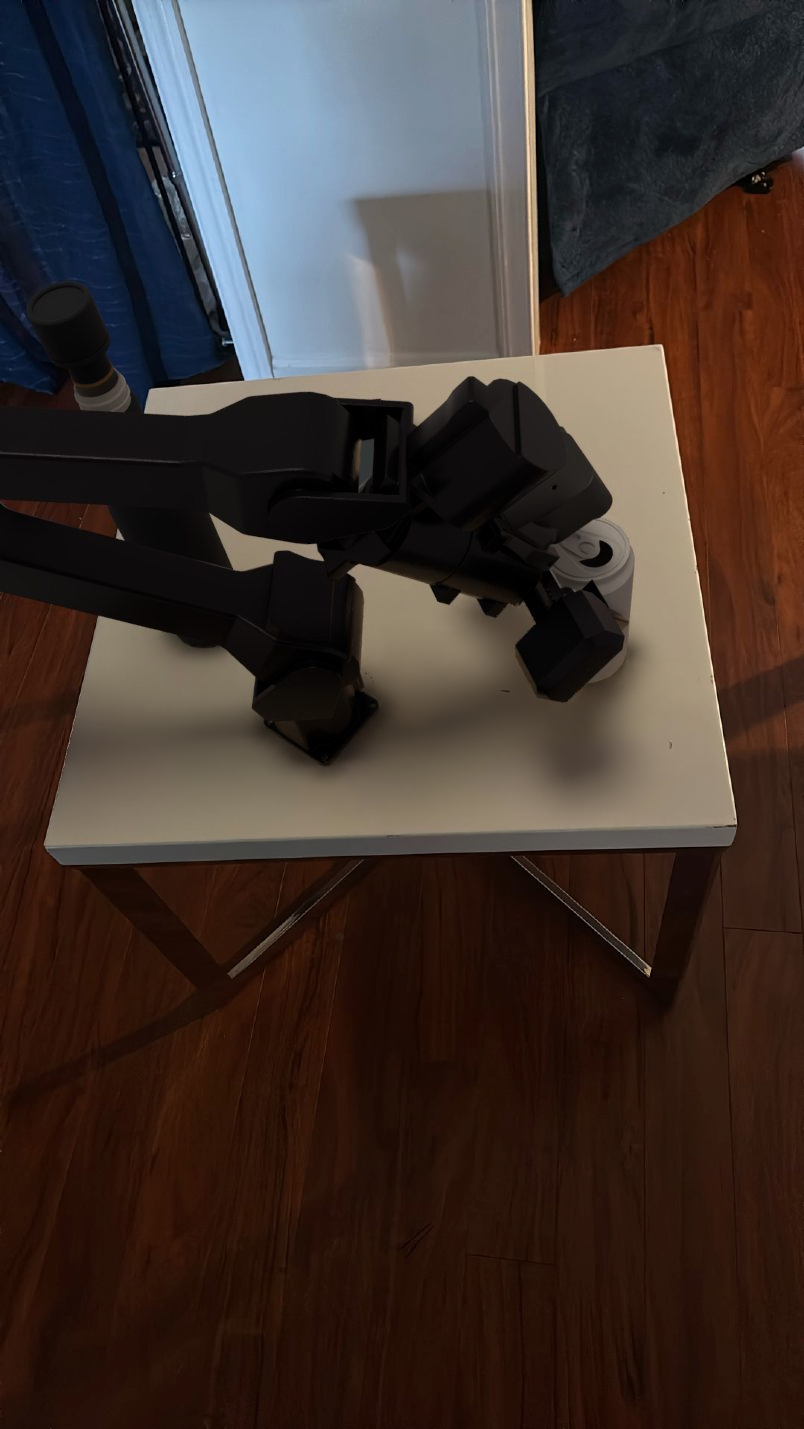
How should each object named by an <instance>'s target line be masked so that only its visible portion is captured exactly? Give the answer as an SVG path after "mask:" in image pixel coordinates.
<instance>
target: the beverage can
mask: <svg viewBox="0 0 804 1429" xmlns="http://www.w3.org/2000/svg"><path fill="white" fill-rule="evenodd" d="M550 546H552V547H554V548H555V549H556V551H557V553H558V554H559V556H560V558H559V559H558V560H557V561H556V563H555V564H554V565H553V566H552V567H551V569H552V571H553V572H554V574H555V576H556V578H557V579H558V581H559V583H560V584H561V586H562V588H563V587H571V588H574V589H575V590H576V591H578V590H582V589H583V588H584V587H585V586H586V585H587V584H588V583H589V582H590V581H591V580H593V581H594V582H595V584H596V586H597V587H598V589H599V591H600V592H601V594H602V596H603V597H604V599H605V601H606V602H607V604H608V606H609V607H610V609H612V610H614V611H616V612H618V613H619V614H621V615H622V616H624V617H625V618H627V620H628V621H629V622H631V621H630V619H631V608H632V600H633V599H632V597H633V589H634V588H633V587H634V586H633V585H634V575H635V566H636V565H635V564H636V557H635V556H636V555H635V553H634V549H633V547H632V546H631V543H630V540H629V537H628V535H627V534H626V532H625V530H624V529H623V528H622V527H621V526H620V525H619V524H617V523H615V522H614V521H612V520H610V519H607V518H604V517H603V516H602V517H600V518H599V519H594V520H592V521H591V522H590V523H588V524H587V525H585V526H584V527H582V528H581V529H579V530H578V531H577V532H575V533H574V534H572V535H571V536H569V537H568V538H566V539H565V540H564V541H562V542H560V543H558V544H551V545H550ZM629 630H630V623H629V624H628V625H627V626H626V627H625V628H624V629H623V630H622V632H623V634H624V636H625V638H624V644H623V650H621V651H620V652H619V653H618V654H617V655H616V656H615V657H614V658H613V659H612V660H611V661H610V662H609V663H608V664H607V665H606V666H605V667H604V668H603V669H601V670H600V671H599V672H598V673H597V674H596V675H595V676H594V677H593V678H592V679H591V680H590V681H589V682H588V683H587V684H594V683H597V682H600V681H603V680H605V679H607V678H609V677H611V676H613V675H614V674H615V673H616V672H617V671H618V670H619V669H620V668H621V667H622V665H623V664H624V662H625V659H626V657H627V652H628V644H629V643H628V642H629Z"/></svg>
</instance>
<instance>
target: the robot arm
mask: <svg viewBox="0 0 804 1429" xmlns="http://www.w3.org/2000/svg"><path fill="white" fill-rule="evenodd" d="M414 419H415V405H414V404H413V403H412V402H410V401H406V400H390V399H389V400H388V399H382V398H370V399H369V398H354V397H353V398H352V397H351V398H349V397H334V396H331V395H329V394H326V393H322V392H316V391H294V392H282V393H271V394H258V395H250V396H246V397H244V398H241V399H240V400H237V401H235V402H233V403H231V404H229V405H227V406H225V407H222V408H220V409H217V410H216V411H213V412H210V413H205V414H204V413H203V414H192V415H191V414H190V415H184V414H183V415H182V414H167V413H166V414H163V413H148V412H147V413H145V412H144V413H128V412H110V411H91V410H81V409H71V408H53V407H52V408H51V407H33V406H15V405H0V593H3V594H8V595H11V596H16V597H20V598H23V599H28V600H32V601H37V602H40V603H43V604H44V603H45V604H48V605H53V606H56V607H60V608H65V609H69V610H73V611H77V612H81V613H86V614H88V615H93V616H97V617H102V618H105V619H110V620H114V621H117V622H122V623H126V624H130V625H135V626H138V627H142V628H145V629H149V630H150V629H151V630H155V631H158V632H163V633H167V634H171V635H175V636H177V635H179V636H183V637H187V638H191V639H195V640H199V641H203V642H207V643H211V644H215V645H217V646H218V647H221V648H223V649H224V650H225V651H226V652H228V654H230V655H231V657H232V658H234V659H235V660H236V661H237V662H238V663H239V664H241V665H242V667H244V668H245V669H246V670H247V671H248V672H249V673H250V674H251V675H252V676H253V677H254V684H253V693H252V701H251V709H252V711H254V712H255V713H256V714H257V715H259V717H261V718H262V719H263V725H264V726H265V728H266V729H267V730H269V731H270V732H271V733H273V735H276V736H277V737H279V738H280V739H281V740H283V741H284V742H286V743H288V744H289V745H291V746H292V747H294V748H295V749H296V750H297V751H299V752H301V753H302V754H304V755H305V756H307V757H309V759H311V760H312V761H314V762H316V763H317V764H319V765H320V766H322V767H324V766H325V767H326V766H329V765H330V764H331V763H332V762H333V761H334V760H335V759H336V758H337V756H338V755H339V754H340V753H341V752H342V751H343V750H344V749H345V748H346V747H347V745H348V744H349V743H350V742H351V741H352V740H353V739H354V737H355V736H356V735H357V734H358V733H359V732H361V730H362V729H363V728H364V726H366V724H367V723H368V722H369V721H370V720H371V719H372V718H373V716H374V715H375V714H376V713H377V712H378V711H379V709H380V703H379V701H378V700H377V699H376V698H374V697H373V696H372V695H370V694H368V693H367V692H365V691H363V689H364V688H365V682H364V679H363V676H362V672H361V665H362V648H363V647H362V646H363V633H364V632H363V630H364V613H365V597H364V591H363V589H362V588H361V587H360V585H359V584H358V583H357V578H356V577H354V576H353V575H351V574H350V573H349V572H350V571H351V570H353V569H354V568H355V567H356V566H358V565H361V566H365V567H368V568H371V569H375V570H379V571H382V572H386V573H389V574H393V575H395V576H396V575H397V576H399V577H403V578H406V579H410V580H412V581H413V580H414V581H417V582H419V583H424V584H427V585H428V586H429V587H430V590H431V592H432V593H433V596H434V598H435V601H436V602H437V603H440V604H444V605H447V606H451V604H452V603H453V602H454V601H455V600H456V599H457V597H458V596H459V595H463V596H468V597H471V598H474V599H476V601H477V603H478V605H479V607H480V608H481V611H482V612H483V614H484V616H487V617H490V618H494V619H497V617H498V616H499V615H500V614H501V613H502V612H503V611H504V610H505V609H506V608H507V607H508V606H509V605H512V606H513V607H516V608H519V607H521V605H522V604H523V603H524V605H525V607H526V608H527V610H528V612H529V614H530V616H531V617H532V619H533V621H534V624H533V625H532V626H531V628H529V629H528V630H527V631H526V633H525V634H524V635H523V636H522V637H521V638H520V639H519V640H518V641H517V642H516V643H515V644H514V654H515V659H516V661H517V663H518V665H519V667H520V668H521V670H522V672H523V674H524V676H525V678H526V680H527V682H528V685H530V688H531V690H532V691H533V694H534V695H535V697H536V698H537V699H540V700H541V699H542V700H546V701H551V702H555V703H562V704H567V703H568V702H569V701H570V700H571V699H572V698H573V697H574V696H576V695H577V693H578V692H580V691H581V690H582V689H583V688H584V687H585V686H586V685H587V684H589V683H588V682H589V681H590V680H591V679H592V678H593V677H594V676H595V675H596V674H597V673H598V672H599V671H600V670H601V669H603V668H604V667H605V666H606V665H607V664H608V663H609V662H610V661H611V660H612V659H613V658H614V657H615V656H616V655H617V654H618V653H619V652H620V651H621V650H623V644H624V638H625V636H624V634H623V632H622V630H623V629H624V628H625V627H626V626H627V625H628V624H629V625H630V621H628V620H627V618H625V617H624V616H622V615H621V614H619V613H618V612H616V611H614V610H612V609H610V607H609V606H608V604H607V602H606V601H605V599H604V597H603V596H602V594H601V592H600V591H599V589H598V587H597V586H596V584H595V582H594V581H593V580H591V581H590V582H589V583H588V584H587V585H586V586H585V587H584V588H583V589H582V590H578V591H576V590H575V589H574V588H571V587H563V588H562V586H561V584H560V583H559V581H558V579H557V578H556V576H555V574H554V572H553V571H552V569H551V567H552V566H553V565H554V564H555V563H556V561H557V560H558V559H559V558H560V556H559V554H558V553H557V551H556V549H555V548H554V547H552V546H550V545H551V544H558V543H560V542H562V541H564V540H565V539H566V538H568V537H569V536H571V535H572V534H574V533H575V532H577V531H578V530H579V529H581V528H582V527H584V526H585V525H587V524H588V523H590V522H591V521H592V520H594V519H599V518H600V517H602V518H603V516H605V515H606V514H608V512H609V511H610V510H611V508H612V505H613V502H614V500H613V496H612V493H611V491H610V490H609V489H608V487H607V486H606V484H605V483H604V482H603V480H602V478H601V477H600V475H599V473H598V472H597V471H596V469H595V468H594V466H593V464H592V463H591V462H590V460H589V459H588V458H587V456H586V454H585V453H584V452H583V450H582V449H581V447H580V446H579V444H578V443H577V441H576V440H575V438H574V437H573V436H572V434H570V433H569V432H567V430H566V428H565V427H564V426H561V425H560V424H559V422H558V420H557V419H556V417H555V415H554V413H553V412H552V411H551V409H550V408H549V407H548V405H547V404H546V402H544V400H543V399H542V398H541V397H540V396H539V395H538V394H537V393H536V392H535V391H534V390H532V388H530V386H528V385H527V384H525V383H523V382H522V381H520V380H518V381H517V382H515V381H513V380H511V379H508V378H496V379H493V380H492V381H490V382H489V383H488V384H485V383H484V382H483V381H481V380H480V379H478V378H477V377H476V376H474V375H469V376H467V377H466V378H464V379H463V380H462V381H460V383H459V384H458V385H456V386H455V387H454V388H453V390H452V391H451V392H450V394H449V395H448V396H447V399H446V400H444V402H443V403H442V404H441V405H439V406H438V407H437V408H436V409H435V410H434V411H433V412H432V413H430V414H429V415H428V416H427V417H426V418H425V419H424V420H423V421H421V422H420V423H419V424H418V425H417V424H415V423H414ZM370 439H374V450H373V469H372V476H371V477H369V478H368V479H367V480H366V481H365V482H364V483H363V484H362V485H360V486H359V475H360V459H361V443H362V441H365V440H370ZM1 500H2V501H18V502H36V503H37V502H39V503H40V502H41V503H55V504H56V503H58V504H59V503H61V504H78V505H79V504H80V505H98V506H107V505H115V506H135V507H154V508H174V509H189V510H195V511H201V512H207V513H209V514H210V516H213V517H214V518H216V519H218V520H219V521H221V522H223V523H224V524H225V525H227V526H229V527H230V528H232V529H233V530H235V531H237V533H240V534H242V535H244V536H248V537H255V538H261V539H265V540H273V541H279V542H285V543H289V544H296V545H297V544H298V545H316V550H317V553H318V554H319V555H320V557H321V558H322V560H319V559H315V558H310V557H306V556H304V555H301V554H298V553H296V552H293V551H291V550H289V549H284V550H283V549H282V550H276V551H275V552H274V553H273V558H272V562H271V563H268V564H264V565H261V566H257V567H253V568H248V569H245V570H237V569H234V570H232V569H229V568H225V567H221V566H217V565H214V564H210V563H206V562H203V561H199V560H195V559H191V558H188V557H184V556H180V555H177V554H173V553H169V552H165V551H162V550H158V549H154V548H151V547H147V546H143V545H139V544H136V543H132V542H128V541H125V540H124V539H120V538H117V537H113V536H110V535H106V534H103V533H98V532H95V531H91V530H87V529H84V528H79V527H76V526H73V525H69V524H65V523H62V522H58V521H54V520H51V519H47V518H43V517H39V516H36V515H32V514H28V513H25V512H20V511H17V510H14V509H11V508H8V507H7V506H6V505H4V503H2V501H1ZM372 705H374V706H372ZM323 758H326V759H323Z"/></svg>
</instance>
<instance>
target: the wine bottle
mask: <svg viewBox="0 0 804 1429" xmlns="http://www.w3.org/2000/svg"><path fill="white" fill-rule="evenodd" d="M25 312H26V316H27V319H28V321H29V322H30V325H31V326H32V328H33V330H34V332H35V334H36V336H37V338H38V340H39V342H40V344H41V346H42V347H43V349H44V351H45V353H46V355H47V357H48V359H49V361H50V362H51V364H53V365H54V366H55V367H58V368H61V369H67V371H68V373H69V375H70V379H71V382H72V384H73V390H74V394H73V396H74V398H75V401H76V403H77V404H78V406H79V410H91V411H110V412H128V413H145V411H144V410H143V407H142V405H141V404H140V401H139V398H138V397H137V396H138V395H137V394H136V393H135V392H134V391H133V390H132V389H131V388H130V387H129V385H128V384H127V381H126V378H125V376H124V375H122V374H121V373H120V372H119V370H118V369H117V368H115V367H114V366H113V363H112V361H111V360H110V359H109V358H108V355H107V351H108V350H109V348H110V346H111V341H112V337H111V335H110V333H109V330H108V328H107V326H106V324H105V321H104V319H103V317H102V315H101V313H100V311H99V308H98V306H97V304H96V302H95V300H94V298H93V295H92V293H91V291H90V289H89V288H88V287H87V286H86V285H84V284H83V283H80V282H77V281H69V280H66V281H59V282H55V283H52V284H49V285H47V286H45V287H44V288H42V289H40V290H38V291H37V292H36V293H35V294H34V295H33V296H32V297H31V298H30V299H29V302H28V303H27V305H26V310H25ZM106 506H107V510H108V512H109V515H110V517H111V519H112V520H113V523H114V524H115V526H116V528H117V530H118V532H119V533H120V536H121V537H122V540H125V541H128V542H132V543H136V544H139V545H143V546H147V547H151V548H154V549H158V550H162V551H165V552H169V553H173V554H177V555H180V556H184V557H188V558H191V559H195V560H199V561H203V562H206V563H210V564H214V565H217V566H221V567H225V568H229V569H232V570H235V569H234V567H233V565H232V563H231V560H230V557H229V556H228V553H227V551H226V548H225V546H224V544H223V541H222V539H221V537H220V535H219V533H218V530H217V528H216V525H215V523H214V521H213V519H212V515H211V514H210V513H207V512H201V511H195V510H189V509H174V508H154V507H135V506H115V505H106ZM176 636H177V637H178V638H179V639H180V640H181V642H182V643H185V644H187V645H189V646H191V647H196V648H203V649H204V648H210V647H216V646H218V645H215V644H211V643H207V642H203V641H199V640H195V639H191V638H187V637H183V636H179V635H176Z"/></svg>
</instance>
